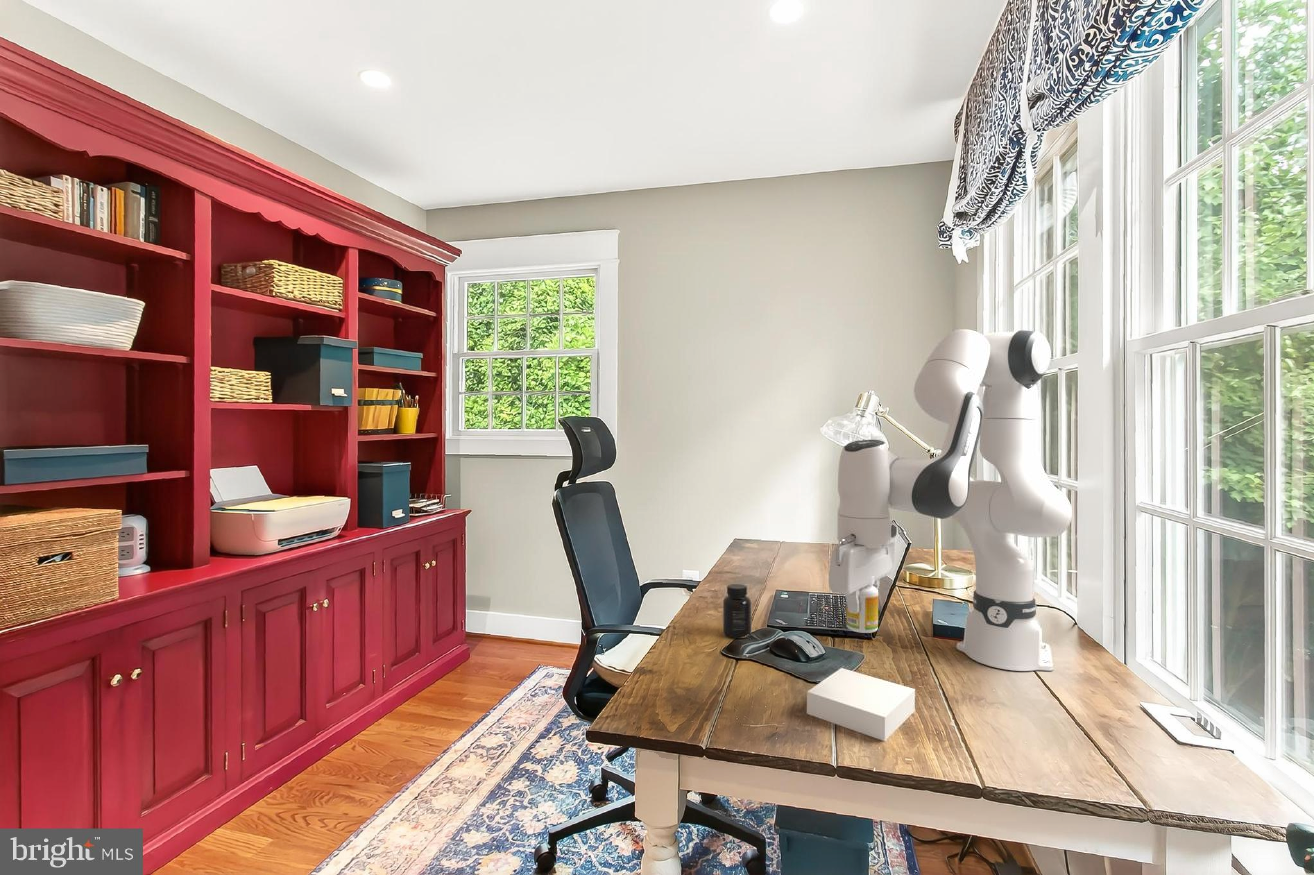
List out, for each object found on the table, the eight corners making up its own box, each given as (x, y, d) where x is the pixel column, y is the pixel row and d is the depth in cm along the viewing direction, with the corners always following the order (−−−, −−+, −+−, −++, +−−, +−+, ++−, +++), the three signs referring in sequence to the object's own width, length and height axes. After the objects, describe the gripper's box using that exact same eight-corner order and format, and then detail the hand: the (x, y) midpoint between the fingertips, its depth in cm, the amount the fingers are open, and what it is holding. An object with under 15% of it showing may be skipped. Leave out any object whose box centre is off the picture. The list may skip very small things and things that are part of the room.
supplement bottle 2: (877, 625, 111) (878, 572, 110) (878, 635, 106) (879, 579, 105) (846, 622, 112) (847, 569, 112) (845, 631, 107) (846, 576, 107)
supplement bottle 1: (755, 633, 150) (755, 585, 149) (744, 641, 144) (744, 591, 144) (730, 628, 153) (730, 581, 153) (718, 636, 148) (718, 587, 147)
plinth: (841, 688, 119) (841, 667, 119) (914, 710, 110) (915, 689, 110) (806, 713, 109) (807, 691, 109) (884, 741, 99) (885, 717, 99)
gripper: (855, 542, 99) (854, 626, 99) (901, 525, 114) (900, 598, 114) (819, 537, 103) (819, 618, 103) (868, 521, 118) (867, 592, 119)
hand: (862, 607), depth 109 cm, fingers closed on supplement bottle 2, 5 cm apart
